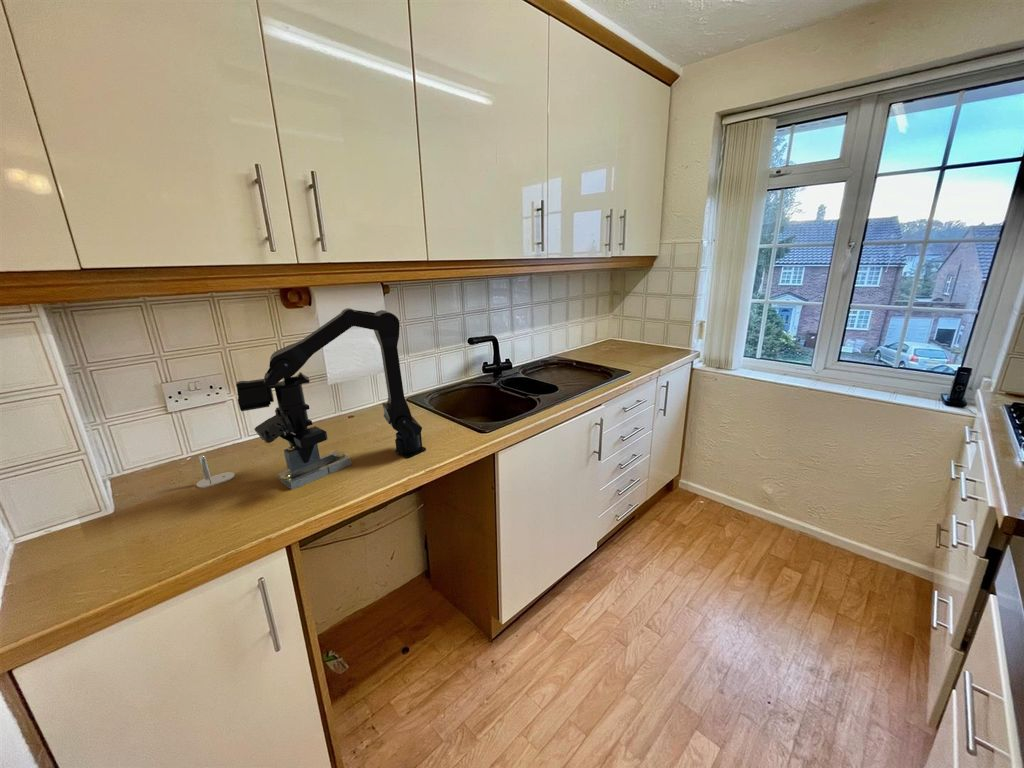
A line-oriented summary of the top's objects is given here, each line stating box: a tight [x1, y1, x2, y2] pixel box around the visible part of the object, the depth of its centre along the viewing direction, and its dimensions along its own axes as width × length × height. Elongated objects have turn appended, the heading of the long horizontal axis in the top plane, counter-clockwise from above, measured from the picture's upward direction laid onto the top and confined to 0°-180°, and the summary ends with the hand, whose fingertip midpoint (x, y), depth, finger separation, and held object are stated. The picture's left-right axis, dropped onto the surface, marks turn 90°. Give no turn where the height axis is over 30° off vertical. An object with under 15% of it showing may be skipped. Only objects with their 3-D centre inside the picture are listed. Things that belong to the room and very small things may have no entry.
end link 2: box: [317, 450, 352, 474], centre depth 110 cm, size 6×7×3 cm
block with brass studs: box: [283, 443, 321, 472], centre depth 103 cm, size 7×3×6 cm, turn 140°
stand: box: [196, 455, 236, 489], centre depth 103 cm, size 8×5×8 cm
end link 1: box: [277, 462, 329, 490], centre depth 104 cm, size 10×7×3 cm
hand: (303, 460), depth 104 cm, fingers closed on block with brass studs, 3 cm apart
